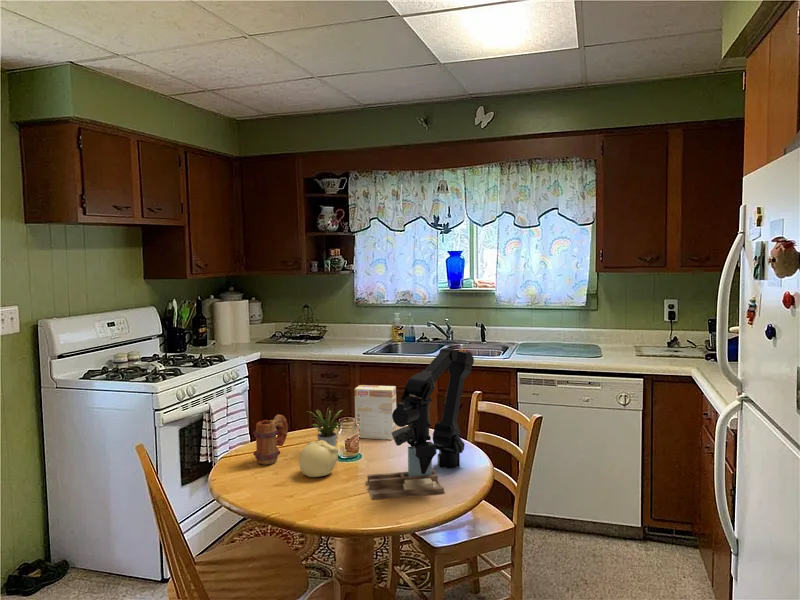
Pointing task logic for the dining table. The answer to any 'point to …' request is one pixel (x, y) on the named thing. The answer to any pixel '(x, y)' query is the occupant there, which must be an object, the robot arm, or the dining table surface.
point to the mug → (270, 439)
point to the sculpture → (318, 458)
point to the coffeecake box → (375, 411)
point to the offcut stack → (419, 484)
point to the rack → (398, 485)
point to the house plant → (327, 428)
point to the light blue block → (416, 464)
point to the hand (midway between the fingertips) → (420, 468)
